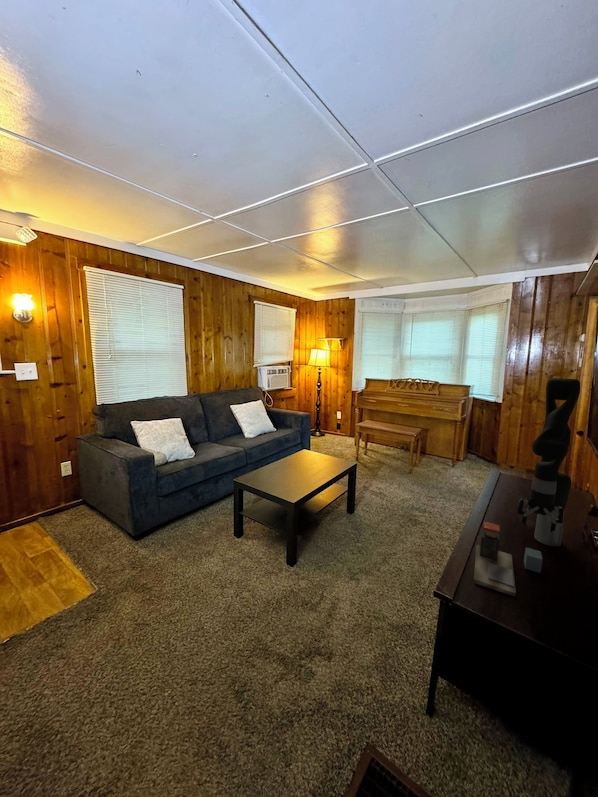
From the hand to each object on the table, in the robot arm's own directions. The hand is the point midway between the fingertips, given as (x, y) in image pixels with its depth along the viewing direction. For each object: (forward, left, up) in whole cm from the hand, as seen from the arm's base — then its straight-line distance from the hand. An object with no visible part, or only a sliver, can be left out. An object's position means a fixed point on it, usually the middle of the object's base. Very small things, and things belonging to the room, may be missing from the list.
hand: (537, 527), depth 127 cm
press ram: (+15, +3, -10) cm, 19 cm away
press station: (+13, +10, -17) cm, 24 cm away
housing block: (0, 0, -17) cm, 17 cm away
